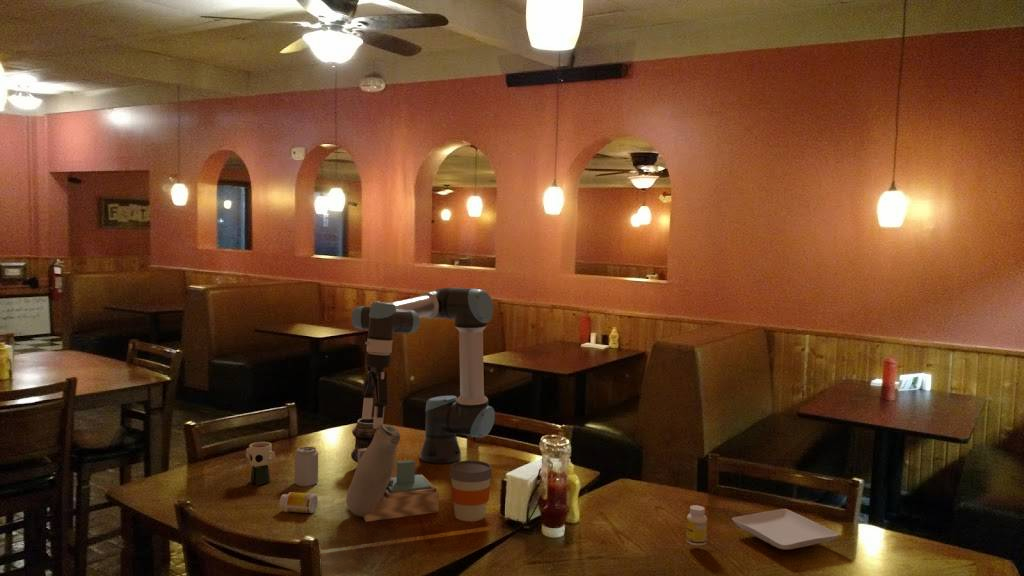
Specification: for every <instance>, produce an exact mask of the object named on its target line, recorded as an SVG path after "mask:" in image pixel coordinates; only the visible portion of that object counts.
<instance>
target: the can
mask: <svg viewBox="0 0 1024 576" xmlns="http://www.w3.org/2000/svg"><path fill="white" fill-rule="evenodd" d="M318 482H319V452H318V451H317V448H316V447H314V446H301V447H299V448H297V449H296V452H295V454H294V484H295V485H297V486H298V487H300V488H301V487H302V488H306V487H307V488H308V487H313V486H315V485H316V484H317V483H318Z"/></svg>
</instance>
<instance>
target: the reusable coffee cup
mask: <svg viewBox="0 0 1024 576" xmlns="http://www.w3.org/2000/svg"><path fill="white" fill-rule="evenodd" d="M492 476H493V472H492V466H491V464H490V463H488V462H485V461H480V460H471V459H470V460H458V461H456V462H452V463H451V466H450V471H449V478H450V481H451V483H450V485H449V486H450V494H451V501H452V502H453V509H454V510H453V511H454V518H456V519H458V520H459V521H462V522H478V521H481V520H483V519H485V517H486V511H487V505H488V502H489V500H490V494H491V493H490V492H491V487H492V486H491V479H492Z"/></svg>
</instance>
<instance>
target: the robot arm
mask: <svg viewBox="0 0 1024 576" xmlns="http://www.w3.org/2000/svg"><path fill="white" fill-rule="evenodd" d="M493 315H494V302H493V299H492V297H491V295H490V294H489V293H488V292H487V291H486V290H484V289H478V288H473V287H471V288H470V287H469V288H468V287H452V286H451V287H449V286H448V287H443V288H438V289H434V290H433V289H432V290H429V291H425V292H422V293H421V294H419V296H414V297H410V298H404V299H401V300H396V301H391V302H387V301H386V302H385V301H384V302H383V301H373V302H371V304H370V306H367V305H362V306H361V305H359V306H357V307H355V308H354V309H353V311H352V313H351V315H350V316H351V318H350V319H351V324H352V326H353V327H354V328H355V329H358V330H362V331H365V330H366V331H368V332H367V341H365V342H364V344H365V345H366V354H365V359H364V360H365V361H364V365H365V366H366V367H367V369H366V375H365V379H364V384H363V388H362V391H361V392H362V395H363V404H362V413H361V418H362V419H371V418H372V413H374V414H373V418H374V421H373V429H378V428H379V427H380V426H382V425H384V416H385V407H386V406H388V390H387V389H388V383H387V382H388V379H387V377H388V372H385V371H384V369H385V368H390V367H391V361H392V360H391V359H392V356H391V354H392V353H393V351H392V350H393V341H394V339H393V337H394V334H406V335H408V334H413V333H415V332H416V331H418V329H419V327H420V326H421V325H420V323H421V319H422V318H424V319H428V320H429V319H443V320H444V319H446V320H451V321H452V320H454V327H455V329H456V330H458V337H459V338H458V341H459V342H458V343H459V344H458V345H459V346H458V348H459V387H460V388H459V393H460V395H459V396H458V397H457V396H456V395H440V396H439V395H438V396H435V397H434V396H433V397H431V398H428V400H427V401H426V405H425V410H424V411H425V436H424V437H425V438H424V440H423V442H422V443H423V444H422V446H421V449H420V455H419V456H420V458H421V459H420V460H421V461H423V462H425V463H430V464H437V465H438V464H439V465H440V464H443V465H444V464H450V463H451V464H453V463H456V462H459V461H461V459H462V457H461V455H462V452H461V448H460V445H459V442H458V438H457V435H462V436H467V437H471V438H484V437H486V436H487V435H488V434H489V433H490V432H491V430H492V429H493V426H494V423H495V419H496V413H495V409H494V407H493V406H490V405H489V399H488V397H487V396H486V395H485V390H484V389H485V388H484V387H485V385H484V384H485V383H484V382H485V381H484V380H485V377H484V330H485V329H486V328H487V326H488V323H489V322H490V321H491V320H492V318H493ZM374 398H375V402H374ZM373 402H374V404H373ZM373 406H374V412H373Z"/></svg>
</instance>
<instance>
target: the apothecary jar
mask: <svg viewBox="0 0 1024 576" xmlns="http://www.w3.org/2000/svg"><path fill="white" fill-rule="evenodd" d="M373 421H374V417H371V419H362V417H361V418H359V419H358V420H357V421H356V425H355V426H354V427H352V431H351V433H352V435H353V437H354V438H355V444H354V449H352V451H351V454H350V458H351V459H352V460H353V461H354V462H356V463H357V464H358V449H363V448H368V447H369V446H370V444H371V442H372V440H373V438H374V434H375V432H376V430H377V429H373ZM356 468H357V466H356V467H355V468H354V470H353V471H354V472H355V471H356Z"/></svg>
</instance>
